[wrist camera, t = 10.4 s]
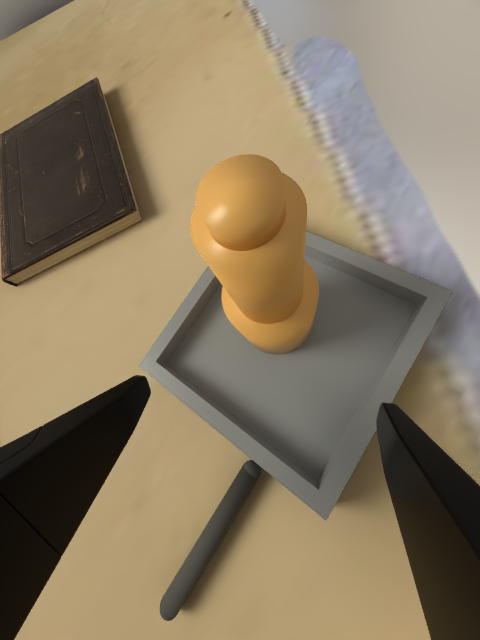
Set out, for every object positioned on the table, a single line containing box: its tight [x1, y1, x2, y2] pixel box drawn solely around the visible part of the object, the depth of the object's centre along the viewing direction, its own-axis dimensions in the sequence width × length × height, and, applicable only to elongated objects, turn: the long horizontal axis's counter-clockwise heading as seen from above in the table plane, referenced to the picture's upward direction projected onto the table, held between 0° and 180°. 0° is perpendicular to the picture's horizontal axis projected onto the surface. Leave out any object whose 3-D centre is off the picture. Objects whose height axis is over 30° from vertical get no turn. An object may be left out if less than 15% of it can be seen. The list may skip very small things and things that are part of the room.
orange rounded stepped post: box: [190, 155, 319, 355], centre depth 12 cm, size 5×5×12 cm
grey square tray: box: [139, 231, 453, 520], centre depth 17 cm, size 15×15×2 cm
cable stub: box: [160, 460, 261, 621], centre depth 15 cm, size 1×10×1 cm, turn 145°
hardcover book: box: [0, 78, 141, 286], centre depth 29 cm, size 16×23×2 cm
